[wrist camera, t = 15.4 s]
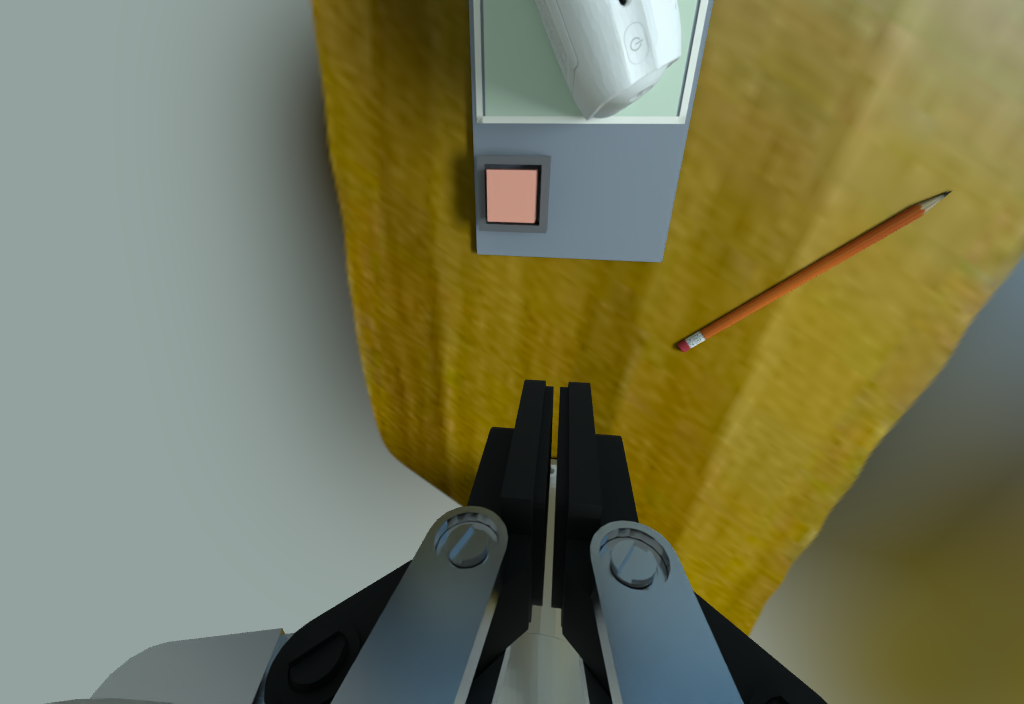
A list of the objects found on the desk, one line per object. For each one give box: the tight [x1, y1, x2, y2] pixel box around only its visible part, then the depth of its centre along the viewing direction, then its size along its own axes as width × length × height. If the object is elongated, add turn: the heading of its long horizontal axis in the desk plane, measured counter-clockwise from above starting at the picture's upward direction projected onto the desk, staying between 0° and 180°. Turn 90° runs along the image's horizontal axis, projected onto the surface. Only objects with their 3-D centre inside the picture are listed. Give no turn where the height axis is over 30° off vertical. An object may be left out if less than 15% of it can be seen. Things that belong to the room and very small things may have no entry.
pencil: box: [677, 191, 951, 352], centre depth 28 cm, size 1×19×1 cm, turn 131°
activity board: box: [469, 0, 714, 262], centre depth 24 cm, size 20×14×2 cm
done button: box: [487, 168, 539, 223], centre depth 26 cm, size 3×3×2 cm
